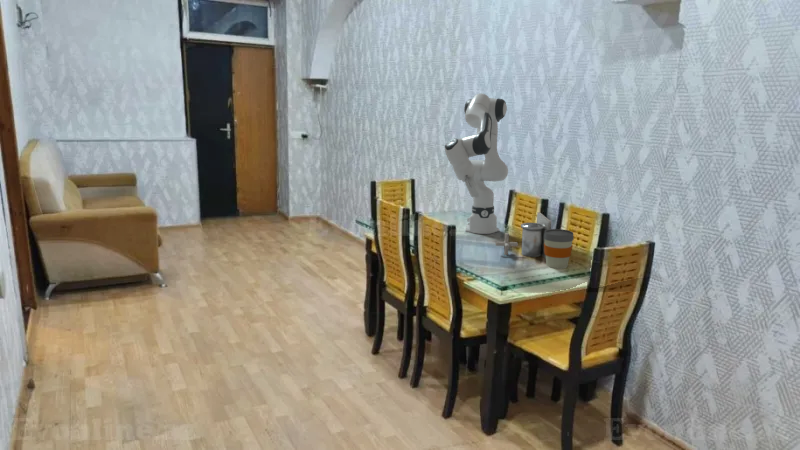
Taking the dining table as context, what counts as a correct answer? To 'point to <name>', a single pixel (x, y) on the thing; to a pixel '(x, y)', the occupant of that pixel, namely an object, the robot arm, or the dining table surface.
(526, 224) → the duct stub
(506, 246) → the pipe connector
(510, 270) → the dining table surface
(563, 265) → the reusable coffee cup
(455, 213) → the dining table surface
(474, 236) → the dining table surface
